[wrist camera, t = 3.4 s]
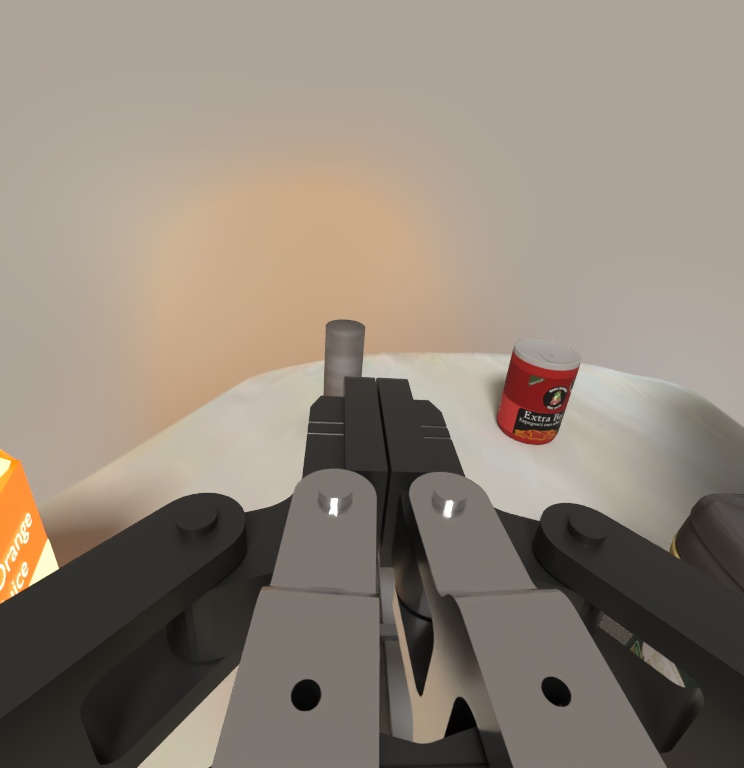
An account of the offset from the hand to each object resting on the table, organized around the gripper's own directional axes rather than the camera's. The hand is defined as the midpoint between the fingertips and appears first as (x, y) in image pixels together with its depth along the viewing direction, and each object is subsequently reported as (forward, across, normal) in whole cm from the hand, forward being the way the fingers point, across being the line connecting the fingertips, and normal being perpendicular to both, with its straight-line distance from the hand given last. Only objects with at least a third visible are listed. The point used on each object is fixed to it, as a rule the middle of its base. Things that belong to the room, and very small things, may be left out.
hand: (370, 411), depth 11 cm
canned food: (+39, -24, +25) cm, 53 cm away
